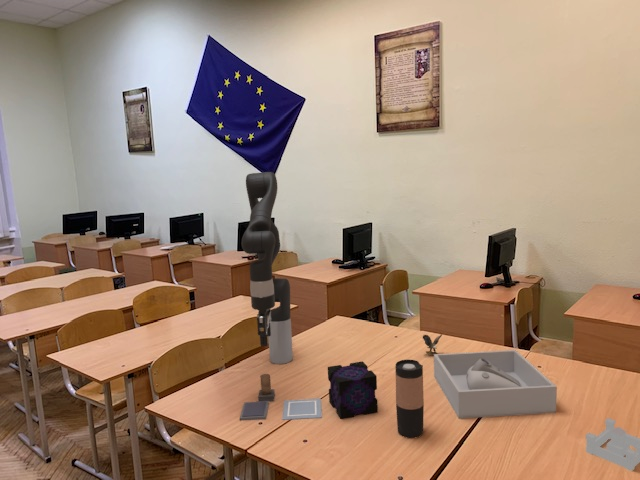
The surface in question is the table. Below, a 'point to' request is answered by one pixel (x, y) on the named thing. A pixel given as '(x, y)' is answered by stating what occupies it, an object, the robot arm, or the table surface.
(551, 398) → the grey open tray
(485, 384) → the grey curved piece
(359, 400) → the energy cube
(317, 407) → the mat
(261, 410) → the pad
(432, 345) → the eagle figurine
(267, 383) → the stamp
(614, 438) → the castle model
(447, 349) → the table surface
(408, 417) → the travel mug
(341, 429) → the table surface
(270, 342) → the robot arm
